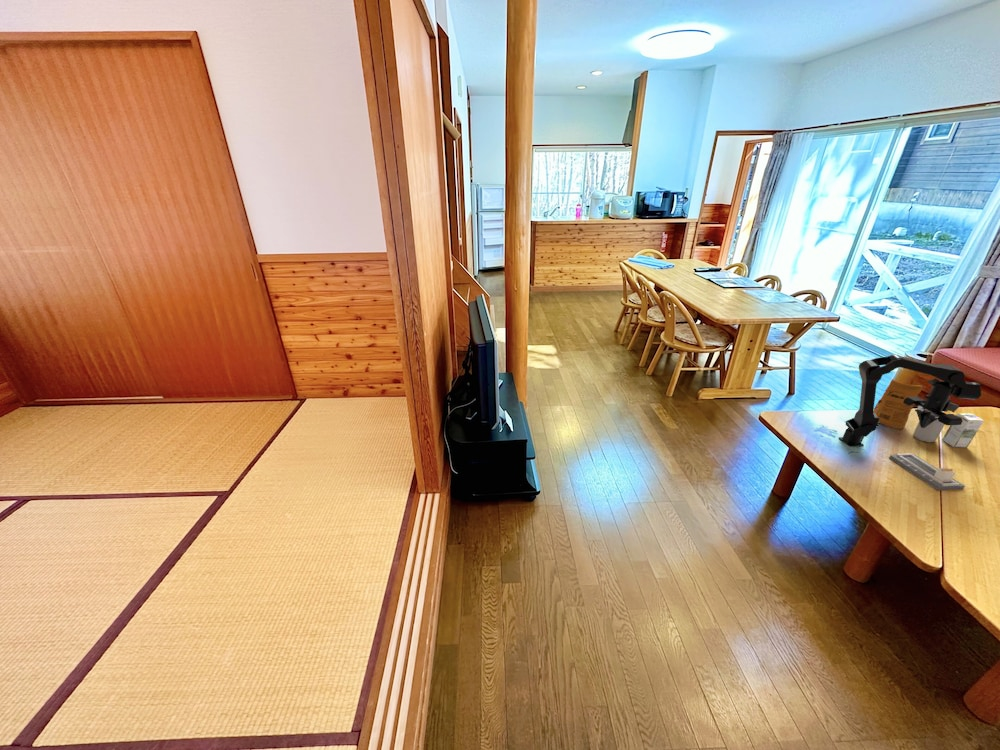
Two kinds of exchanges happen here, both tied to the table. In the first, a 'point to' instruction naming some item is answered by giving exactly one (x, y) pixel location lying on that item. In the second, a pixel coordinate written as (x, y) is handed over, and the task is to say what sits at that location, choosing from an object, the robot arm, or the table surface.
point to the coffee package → (896, 404)
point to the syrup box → (963, 431)
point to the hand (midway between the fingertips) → (922, 427)
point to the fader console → (924, 471)
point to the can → (929, 431)
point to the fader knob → (944, 474)
